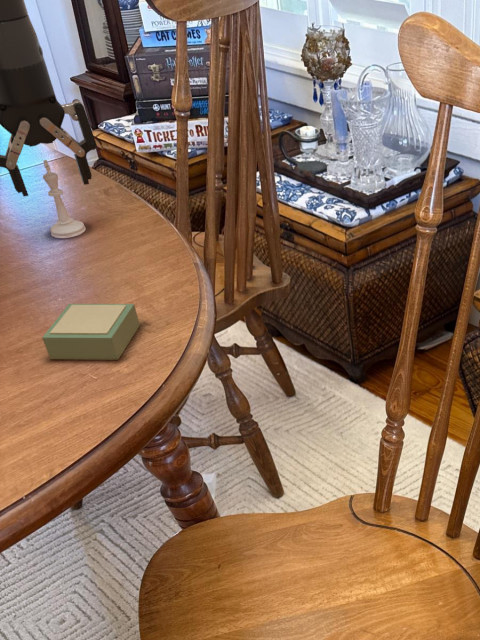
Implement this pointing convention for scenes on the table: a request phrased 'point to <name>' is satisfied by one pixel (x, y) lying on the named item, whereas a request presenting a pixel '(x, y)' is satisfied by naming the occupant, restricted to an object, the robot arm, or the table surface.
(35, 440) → the table surface
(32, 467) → the table surface
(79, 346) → the green square box
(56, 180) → the chess piece
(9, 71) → the robot arm
